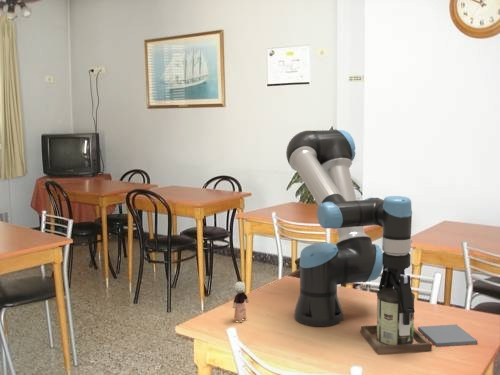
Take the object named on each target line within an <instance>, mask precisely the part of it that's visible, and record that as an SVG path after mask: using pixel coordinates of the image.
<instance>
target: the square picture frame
mask: <svg viewBox="0 0 500 375" xmlns="http://www.w3.org/2000/svg"><path fill="white" fill-rule="evenodd" d="M360 334H361V335H362V336H363V337H364V339H365V340H366V341H367V342H368V344H369V345H370V346H371V348H372V349H373V350H374V352H376V354H377V355H391V354H393V355H395V354H406V353H408V354H409V353H411V354H412V353H422V352H423V353H425V352H432V351H433V346H432V345H433V343H432V342H431V341H430V340H428V339H427V338H426V337H425V336H424V335H423V334H422V333H421V332H420V331H419V330H418V329H416V328H415V327H414V329H413V339H415V340H416V341H417V342H418V343H413V344H401V345H385V346H382V345H380V344H379V343H378V342H377V341H376V340H377V339H376V338H375V337H374V336H373V335H372V334H377V324H376V325H373V324H372V325H362V326H360Z"/></svg>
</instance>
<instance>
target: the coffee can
mask: <svg viewBox="0 0 500 375" xmlns="http://www.w3.org/2000/svg"><path fill="white" fill-rule="evenodd" d="M376 296H377V298H376V302H377V304H376V305H377V306H376V325H377V333H376V339H375V340H376V341H377V342H378V343H379V344H380V346H385V345H401V344H415V343H414V337H413V329H414V328H415V327H414V324H415V323H414V322H415V320H414V319H415V312H414V313H410V335H407V336H400V335H399V317H400V313H399V311H400V310H401V308H400V304H399V300H398V296H397V292H396V290H395V289H394V287H393V288H389V289H382V290H379V289H378V291H376ZM412 298H413V304H414V305H415V298H416V295H415V293H413V292H412Z"/></svg>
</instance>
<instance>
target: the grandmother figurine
mask: <svg viewBox="0 0 500 375" xmlns="http://www.w3.org/2000/svg"><path fill="white" fill-rule="evenodd" d="M245 289H246V285H245V283H244V282H242V281H238V282H236V283H235V284H234V290H235V292H236V293H237V294H235V296H234V299H233V302H232V303H233V304H232V309H234V316H233V317H234V319H235V320H234V322H235V321H238V322H243V323H244V321H243V320H242V319H244V320H246V319H247V320H248V318H247V310H246V305H245V303H248V304H249V298H248V296H247V294H246V293H245V292H244V291H245ZM247 320H246V321H247Z"/></svg>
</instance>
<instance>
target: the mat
mask: <svg viewBox="0 0 500 375" xmlns="http://www.w3.org/2000/svg"><path fill="white" fill-rule="evenodd" d="M417 331H418V332H419V333H420V334H422V335H423V336H424V337H425V338H426V339H427V340H428V341H429V342H430V343H431V344H432V345H434V346H435V347H436V348H438V347H451V346H452V347H454V346H455V345H456V346H466V345H465V344H471V345H478V340H477V339H476V338H475V337H473V336H472V335H471V334H469V333H468V332H467V331H466V330H464V329H463V328H462V327H461V326H459V325H458V324H441V325H425V326H418V327H417Z"/></svg>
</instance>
